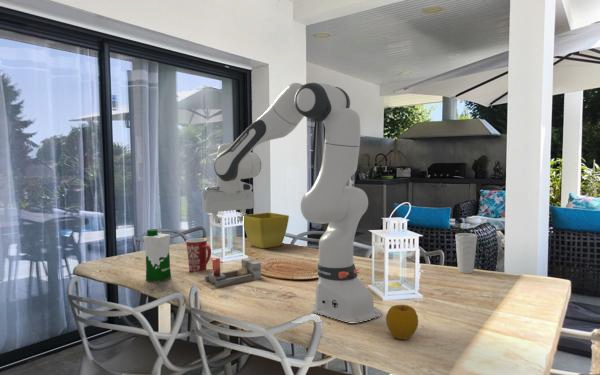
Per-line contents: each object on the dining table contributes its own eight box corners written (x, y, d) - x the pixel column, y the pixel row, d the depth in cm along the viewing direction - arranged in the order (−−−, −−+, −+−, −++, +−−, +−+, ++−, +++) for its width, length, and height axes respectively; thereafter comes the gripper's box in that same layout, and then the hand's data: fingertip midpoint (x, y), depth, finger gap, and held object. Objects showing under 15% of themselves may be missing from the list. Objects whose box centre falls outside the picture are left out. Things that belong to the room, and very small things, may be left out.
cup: (455, 273, 178) (455, 236, 176) (454, 268, 186) (454, 232, 185) (477, 275, 175) (478, 237, 174) (475, 269, 183) (476, 233, 182)
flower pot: (269, 240, 252) (269, 212, 251) (290, 245, 238) (289, 215, 237) (242, 245, 240) (241, 215, 239) (261, 251, 226) (261, 218, 224)
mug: (182, 271, 188) (181, 240, 187) (199, 266, 195) (198, 237, 194) (201, 276, 181) (200, 243, 180) (218, 271, 188) (217, 240, 187)
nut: (249, 277, 171) (249, 267, 171) (240, 279, 169) (240, 269, 169) (244, 275, 175) (244, 265, 174) (235, 277, 172) (235, 267, 172)
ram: (225, 283, 164) (225, 259, 163) (215, 285, 161) (215, 261, 161) (217, 279, 169) (216, 256, 169) (208, 281, 167) (207, 258, 166)
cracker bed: (264, 282, 170) (264, 263, 169) (212, 293, 157) (212, 273, 156) (247, 274, 181) (246, 257, 181) (197, 284, 168) (196, 265, 168)
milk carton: (156, 275, 183) (154, 228, 181) (174, 276, 180) (172, 228, 179) (142, 280, 175) (140, 231, 173) (161, 282, 172) (159, 232, 170)
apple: (403, 347, 111) (403, 314, 110) (378, 336, 118) (378, 305, 117) (424, 339, 116) (424, 306, 115) (400, 329, 123) (400, 298, 122)
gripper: (206, 188, 156) (206, 226, 157) (256, 185, 168) (256, 220, 169) (199, 186, 161) (200, 223, 163) (248, 184, 173) (248, 218, 174)
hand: (229, 222), depth 166 cm, fingers open, 8 cm apart
